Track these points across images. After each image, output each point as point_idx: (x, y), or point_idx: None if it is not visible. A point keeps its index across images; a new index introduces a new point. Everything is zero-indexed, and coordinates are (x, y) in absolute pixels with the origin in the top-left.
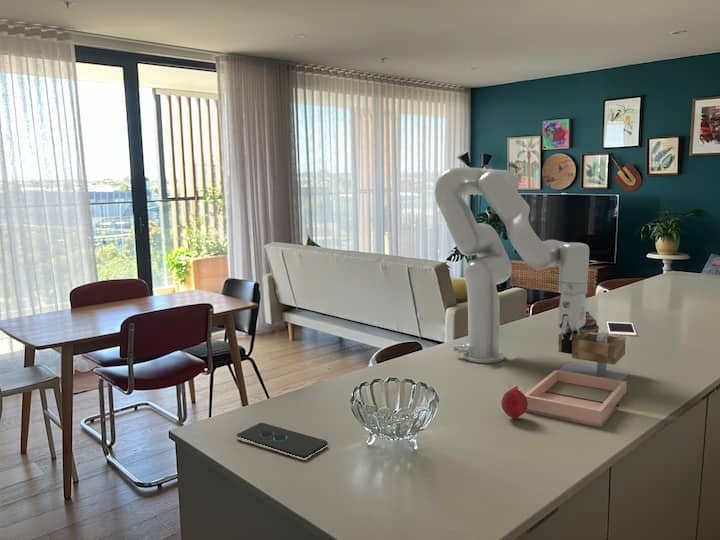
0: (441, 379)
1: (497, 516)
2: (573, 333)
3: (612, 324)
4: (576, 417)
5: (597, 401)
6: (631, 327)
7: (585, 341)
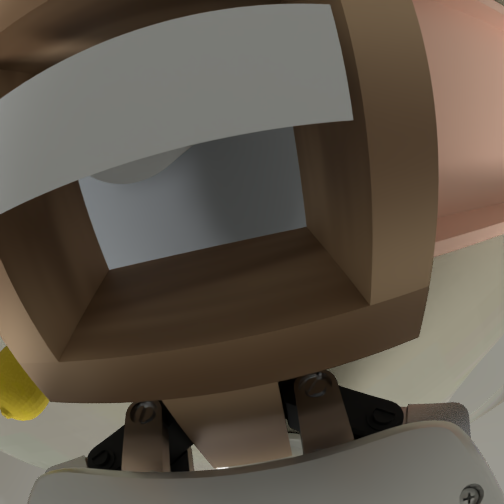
0: (435, 399)
1: None
2: (173, 435)
3: None
4: None
5: (467, 48)
6: None
7: (413, 229)
